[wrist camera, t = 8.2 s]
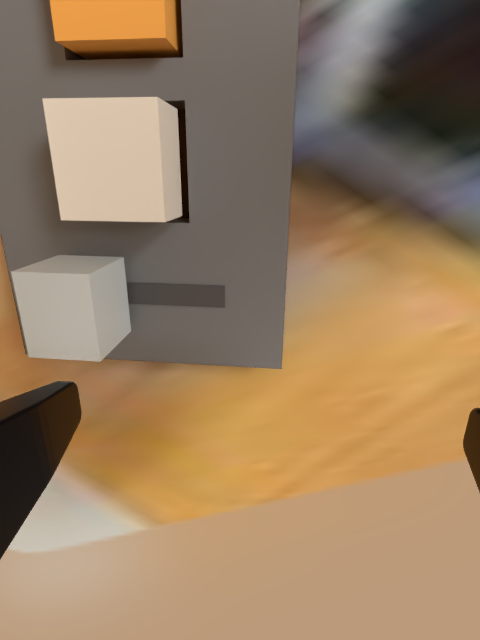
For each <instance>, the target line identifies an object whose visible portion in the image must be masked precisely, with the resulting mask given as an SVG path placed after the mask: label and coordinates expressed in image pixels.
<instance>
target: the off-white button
mask: <svg viewBox="0 0 480 640" xmlns="http://www.w3.org/2000/svg"><path fill="white" fill-rule="evenodd" d="M42 100H43V106H44V113H45V119H46V126H47V132H48V139H49V145H50V152H51V159H52V165H53V172H54V178H55V185H56V191H57V198H58V204H59V211H60V217H61V220H71V221H121V222H167V221H170V220H173V219H175V218H178V217H181V216H182V196H181V174H180V151H179V129H178V109H176V108H175V107H173V106H172V105H170V104H168V103H167V102H165V101H163V100H162V99H160V98H159V97H110V98H42Z"/></svg>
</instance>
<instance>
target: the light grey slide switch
mask: <svg viewBox="0 0 480 640" xmlns="http://www.w3.org/2000/svg"><path fill="white" fill-rule="evenodd" d="M11 275H12V279H13V284H14V289H15V294H16V299H17V304H18V308H19V313H20V318H21V323H22V328H23V332H24V337H25V342H26V347H27V352H28V357H29V358H46V359H63V360H80V361H97V362H101V361H102V360H103V359H104V358H105V357H106V356H107V355H108V354H109V353H110V352H111V351H112V350H113V349H114V348H115V347H116V346H117V345H118V344H119V343H120V342H121V341H122V340H123V339H124V338H125V337H126V336H127V335H128V334H129V333H130V332H131V324H130V315H129V305H128V295H127V285H126V275H125V265H124V257H110V256H76V255H57V256H54V257H52V258H49V259H46V260H43V261H40V262H37V263H34V264H31V265H28V266H26V267H23V268H20V269H17V270H14V271H11Z"/></svg>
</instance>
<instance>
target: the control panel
mask: <svg viewBox="0 0 480 640" xmlns="http://www.w3.org/2000/svg"><path fill="white" fill-rule="evenodd" d="M181 13H182V39H183V57H182V58H142V59H101V60H87V59H85V58H83V57H81V56H80V55H78V54H76V53H75V52H73V51H71V50H70V49H68V48H66V47H64V46H63V45H61V44H59V43H58V42H56V41H55V36H54V28H53V21H52V14H51V7H50V0H0V233H1V238H2V243H3V248H4V252H5V257H6V262H7V267H8V271H9V276H10V281H11V286H12V291H13V295H14V300H15V305H16V310H17V314H18V319H19V324H20V329H21V333H22V338H23V343H24V348H25V353H26V354H28V352H27V347H26V342H25V337H24V332H23V328H22V323H21V318H20V313H19V308H18V304H17V299H16V294H15V289H14V284H13V279H12V275H11V271H14V270H17V269H20V268H23V267H26V266H28V265H31V264H34V263H37V262H40V261H43V260H46V259H49V258H52V257H54V256H57V255H76V256H110V257H124V265H125V275H126V285H127V295H128V305H129V315H130V324H131V332H130V333H129V334H128V335H127V336H126V337H125V338H124V339H123V340H122V341H121V342H120V343H119V344H118V345H117V346H116V347H115V348H114V349H113V350H112V351H111V352H110V353H109V354H108V355H107V356H106V357H105V358H104V359H116V360H134V361H151V362H168V363H185V364H203V365H220V366H237V367H255V368H272V369H282V351H283V331H284V311H285V291H286V272H287V252H288V232H289V212H290V192H291V172H292V152H293V132H294V112H295V92H296V73H297V53H298V33H299V13H300V0H181ZM110 97H159V98H160V99H162V100H163V101H165V102H167V103H168V104H170V105H172V106H173V107H175V108H176V109H185V117H186V143H187V169H188V195H189V218H175V219H173V220H170V221H167V222H121V221H71V220H61V217H60V211H59V204H58V198H57V191H56V185H55V178H54V172H53V165H52V159H51V152H50V145H49V139H48V132H47V126H46V119H45V113H44V106H43V100H42V98H110Z"/></svg>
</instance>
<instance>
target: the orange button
mask: <svg viewBox="0 0 480 640" xmlns="http://www.w3.org/2000/svg"><path fill="white" fill-rule="evenodd" d="M50 7H51V14H52V21H53V28H54V36H55V41H56V42H58V43H59V44H61V45H63V46H64V47H66V48H68V49H70V50H71V51H73V52H75V53H76V54H78V55H80V56H81V57H83V58H85V59H87V60H101V59H142V58H182V57H183V39H182V13H181V0H50Z"/></svg>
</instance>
